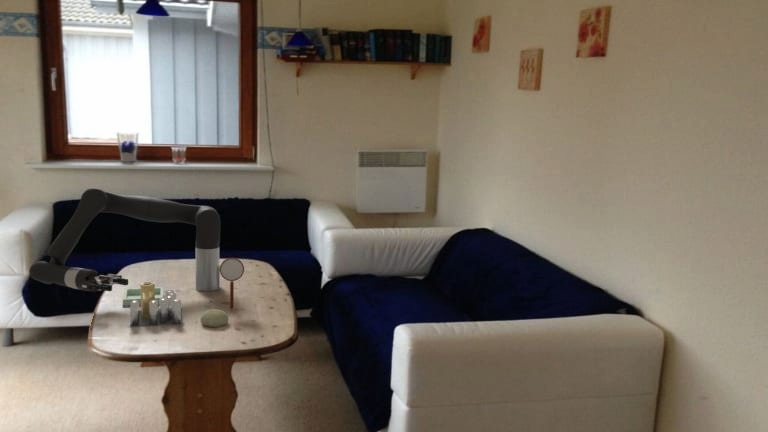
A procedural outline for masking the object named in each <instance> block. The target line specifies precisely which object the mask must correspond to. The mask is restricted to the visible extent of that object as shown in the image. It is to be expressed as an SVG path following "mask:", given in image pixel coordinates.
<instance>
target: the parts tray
mask: <svg viewBox="0 0 768 432" xmlns="http://www.w3.org/2000/svg"><path fill="white" fill-rule="evenodd" d="M162 298H164V286H162V287H161V286H159V287H157V286H155V300H157V301H158V305H159V299H162ZM133 300H137V301H139V306H141V287H138V288H137V287H136V288H133V287H132V288H125V289H124V292H123V295H122V306H123V307H130V301H133Z"/></svg>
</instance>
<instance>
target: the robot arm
mask: <svg viewBox="0 0 768 432" xmlns="http://www.w3.org/2000/svg"><path fill="white" fill-rule="evenodd" d="M99 213H108V214H109V213H110V214H118V215H122V216H127V217H130V218H134V219H137V220H141V221H147V222H153V223H183V224H184V223H185V224H189V225H194V226H196V227H195V228H196V230H195V233H196V235H195V237H196V238H195V289H196V291H199V292H213V291H219V290H220V287H221V286H220V285H221V283H220V279H221V278H220V277H221V273H220V266H221V265H220V242H221V218H220V217H221V216H220V214H219V213H218V211H217V210H216V209H215V208H214V207H212V206H209V205H194V204H184V203H179V202H176V201H172V200H168V199H163V198H158V197H154V196H153V197H152V196H146V195H145V196H143V195H127V194H126V195H125V194H118V193H115V192H110V191H105V190H103V189H101V188H99V187H91V188H88V189H86V190H85V191H84V192H83V193H82V194H81V196H80V201H79V202H78V206H77V207H76V208H75V211H74V213H73V215H72V216H71V218H70V219H69V221H68V222H67V223H66V224H65V226H64V227H63V229H62V230H61V231H60V232H59V233H58V234H57V237H56V238H55V239H54V240H53V242H52V243H51V245H50V246H49V248H48V249H47V255H48V256H49V257H50V261H49V262H48V261H45V260H40V261H36V262H34V263H33V264H31V266H30V267H29V269H28V270H29V275H30V277H31V278H32V279H33V280H35V281H38V282H40V283H42V284H46V285H51V284H56V285H58V286H62V287H67V288H71V289H75V290H81V291H85V292H86V291H87V292H88V291H89V292H94V293H96V292H97V291H100V292H101V291H105V292H112V291H113V285H121V286H129V279H128V278H125V277H123V275H121V274H113V273H106V275H104V274H99V273H98V271H96V270H94V269H88V268H83V267H71V266H65V264H66V262H67V259H68V257H69V256H70V254H71V253H72V252H73V250H74V248H75V247H76V245H77V243H78V242H79V240H80V238H82V237H81V236H82V235H83V234H84V232H85V230H86V229H87V227H88V226H89V224H90V223H91V222H92V221H93V219H94V218H95V217H96V216H97V215H98V214H99Z"/></svg>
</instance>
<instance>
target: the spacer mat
mask: <svg viewBox="0 0 768 432" xmlns="http://www.w3.org/2000/svg"><path fill="white" fill-rule="evenodd" d="M175 325H176V326H178V325H184V318H183V308H181V324H173V320H168V322H167V323H159V309H158V325H150V319H142V317H141V310H139V325H137V326H132V325H131V323H130V324H129V327H130V328H140V327H141V328H143V327H158V326H159V327H160V326H175Z"/></svg>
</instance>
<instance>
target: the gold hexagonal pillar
mask: <svg viewBox="0 0 768 432" xmlns="http://www.w3.org/2000/svg"><path fill="white" fill-rule="evenodd" d="M155 287H156V286H155V283H154V281H153V282H152V281H146V282H141V283H140V286H139V288H141V305H140V311H141V317H142V319H150V315H149V301H151V300H155Z"/></svg>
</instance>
